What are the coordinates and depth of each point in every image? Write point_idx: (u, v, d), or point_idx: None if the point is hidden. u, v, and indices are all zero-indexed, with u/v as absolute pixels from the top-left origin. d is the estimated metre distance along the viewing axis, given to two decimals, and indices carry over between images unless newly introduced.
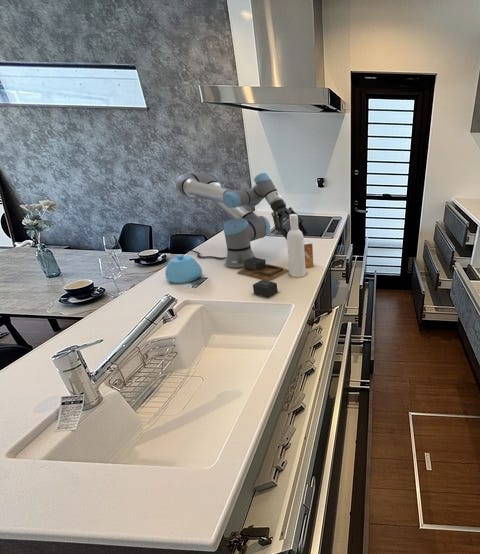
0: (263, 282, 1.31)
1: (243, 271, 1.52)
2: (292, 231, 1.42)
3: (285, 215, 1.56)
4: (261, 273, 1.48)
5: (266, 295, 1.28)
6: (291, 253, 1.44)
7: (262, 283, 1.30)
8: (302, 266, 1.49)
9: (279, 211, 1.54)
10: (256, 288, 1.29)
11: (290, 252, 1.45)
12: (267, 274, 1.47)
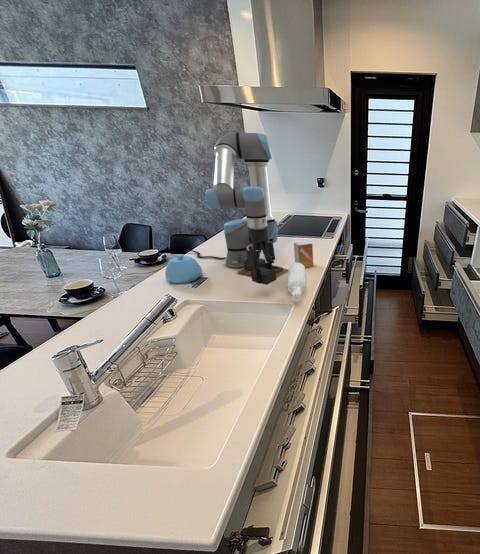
0: (261, 269, 1.29)
1: (243, 271, 1.52)
2: None
3: (261, 248, 1.23)
4: None
5: (264, 282, 1.26)
6: None
7: (260, 270, 1.28)
8: None
9: (256, 243, 1.20)
10: None
11: None
12: None
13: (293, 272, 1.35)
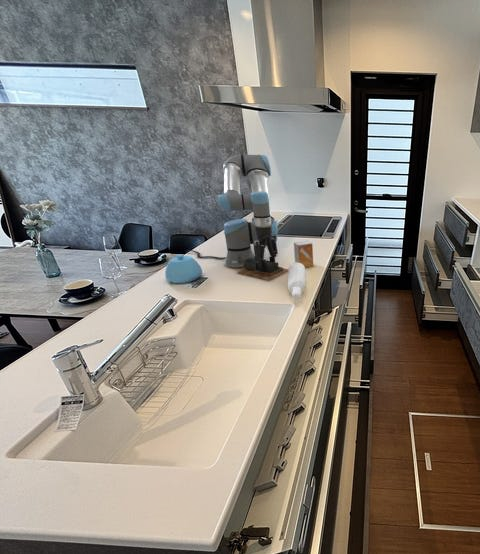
0: (266, 262, 1.51)
1: (243, 271, 1.52)
2: None
3: (266, 243, 1.45)
4: (261, 273, 1.48)
5: None
6: None
7: (265, 262, 1.50)
8: None
9: (261, 239, 1.42)
10: None
11: None
12: (267, 274, 1.47)
13: (293, 272, 1.35)
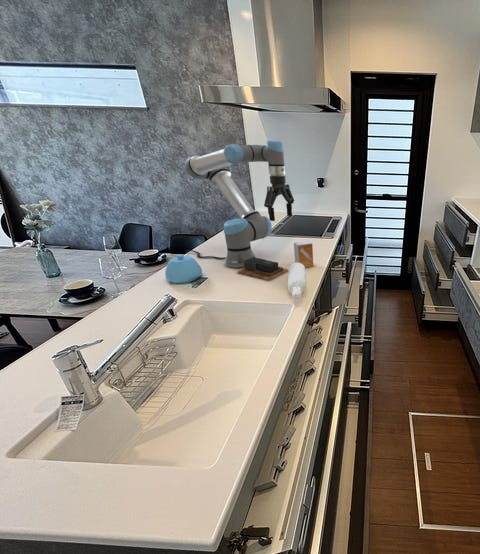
0: (266, 261, 1.51)
1: (243, 271, 1.52)
2: None
3: (279, 193, 1.51)
4: (261, 273, 1.48)
5: None
6: None
7: (265, 262, 1.50)
8: None
9: (276, 187, 1.48)
10: (260, 266, 1.49)
11: None
12: (267, 274, 1.47)
13: (293, 272, 1.35)
